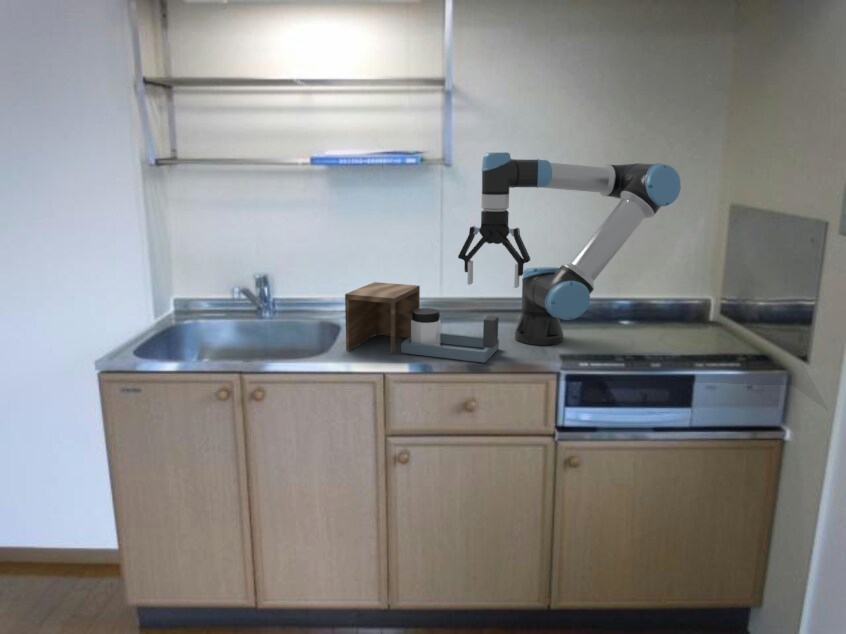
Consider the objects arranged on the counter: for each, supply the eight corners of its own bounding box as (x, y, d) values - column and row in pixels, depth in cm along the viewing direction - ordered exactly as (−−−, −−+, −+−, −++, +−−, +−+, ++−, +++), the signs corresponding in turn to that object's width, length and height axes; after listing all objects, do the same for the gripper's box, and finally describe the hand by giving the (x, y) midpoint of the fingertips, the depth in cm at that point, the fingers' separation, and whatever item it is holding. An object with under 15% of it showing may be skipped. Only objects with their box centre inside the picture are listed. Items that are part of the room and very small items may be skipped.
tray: (501, 348, 201) (502, 312, 199) (487, 363, 187) (489, 324, 185) (420, 339, 210) (420, 305, 208) (401, 352, 196) (401, 316, 194)
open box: (419, 338, 213) (419, 285, 209) (393, 355, 195) (393, 298, 191) (375, 333, 219) (374, 282, 215) (346, 349, 200) (345, 294, 196)
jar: (434, 355, 195) (434, 315, 192) (407, 352, 198) (408, 313, 195) (443, 347, 203) (443, 308, 201) (417, 344, 206) (417, 306, 203)
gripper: (542, 210, 184) (539, 285, 189) (456, 207, 193) (455, 280, 198) (537, 212, 177) (534, 290, 182) (447, 209, 186) (447, 284, 191)
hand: (493, 285), depth 190 cm, fingers open, 13 cm apart
